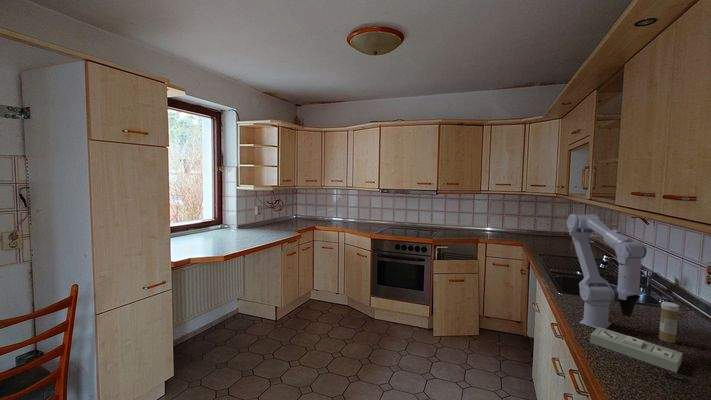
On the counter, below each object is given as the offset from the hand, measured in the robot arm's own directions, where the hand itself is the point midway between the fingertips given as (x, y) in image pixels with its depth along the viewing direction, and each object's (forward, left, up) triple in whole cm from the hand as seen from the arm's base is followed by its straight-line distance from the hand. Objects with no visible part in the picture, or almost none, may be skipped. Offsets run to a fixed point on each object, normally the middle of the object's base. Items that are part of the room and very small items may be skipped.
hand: (626, 315), depth 113 cm
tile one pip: (+4, +3, -8) cm, 10 cm away
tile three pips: (+4, -4, -9) cm, 11 cm away
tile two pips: (+4, +10, -9) cm, 14 cm away
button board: (+4, +3, -10) cm, 11 cm away
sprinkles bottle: (-15, +9, -11) cm, 21 cm away
